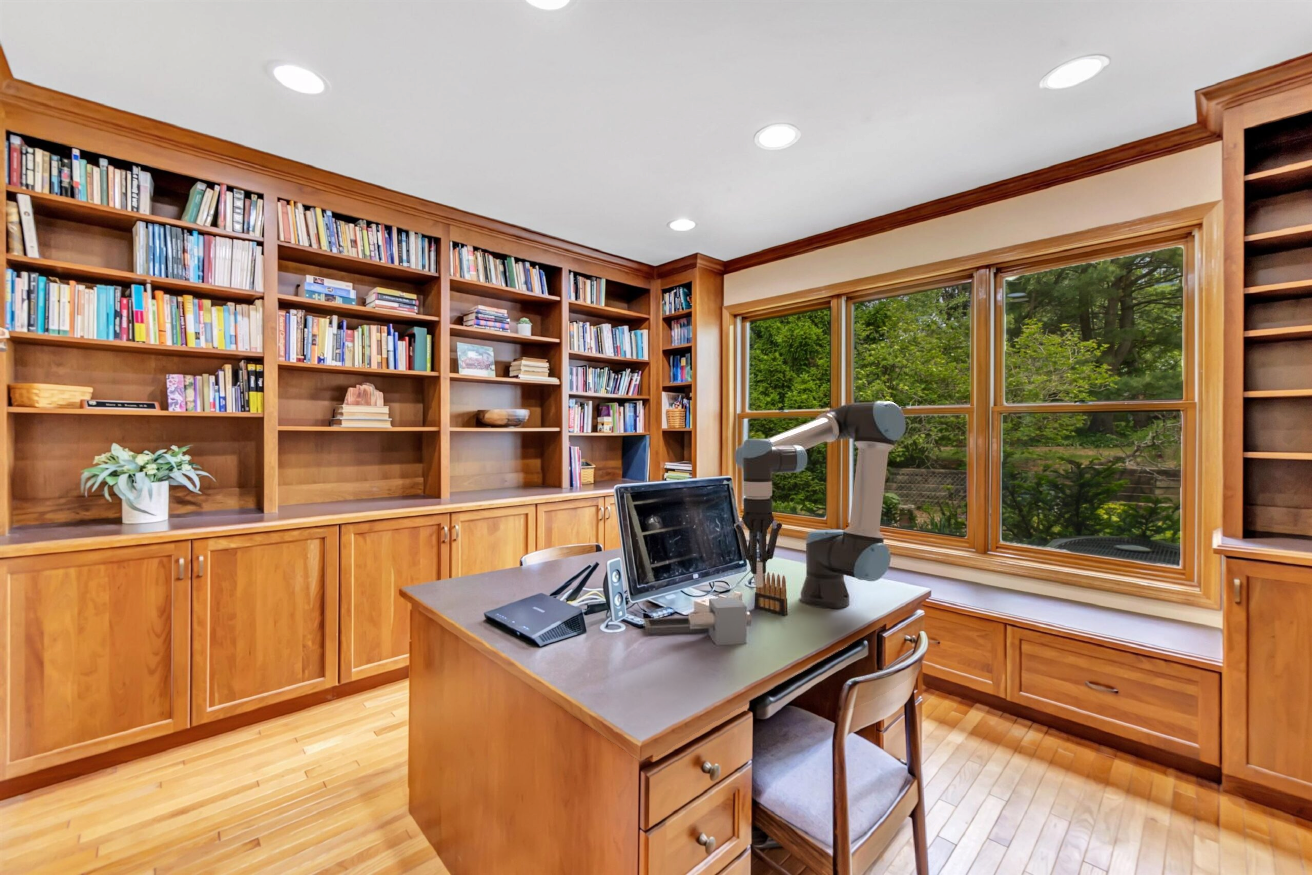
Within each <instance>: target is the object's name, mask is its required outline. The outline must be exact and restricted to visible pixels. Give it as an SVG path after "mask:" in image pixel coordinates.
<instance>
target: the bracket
mask: <svg viewBox="0 0 1312 875" xmlns="http://www.w3.org/2000/svg"><path fill="white" fill-rule="evenodd" d="M711 598H715V597H713V596H708V597H703V598H699V599H695V600H694V601H693V612H695V613H709V599H711ZM717 598H728V596H726V595H723V594H719V595H718V597H717ZM731 598H739V599H740V600H741V601H742V602H743V593H742V592H739V591H736V590H735V591H733V593H732V597H731Z"/></svg>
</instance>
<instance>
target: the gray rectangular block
mask: <svg viewBox="0 0 1312 875" xmlns="http://www.w3.org/2000/svg"><path fill="white" fill-rule="evenodd" d="M747 610H748V608H747V606H746V604H744V602H743V600H742V601H741V600H740V599H739V598H732V597H727V598H718V597H714V598H711V599H709V613H715V628H709V632H708V635H709V636H710V638H711V640H712V641H713V643H714V644H715V646H725V645H742V644H743V645H746V644H747V636H748V635H747V630H748V629H747V628H748V626H747Z"/></svg>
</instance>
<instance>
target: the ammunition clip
mask: <svg viewBox="0 0 1312 875" xmlns="http://www.w3.org/2000/svg"><path fill="white" fill-rule="evenodd" d="M765 574H766V573H765ZM765 574H763V587H756V586H755V592H754V602H753V603H754V605H753V606H754V607H753V609H754V610H757V611H761V612H765V613H770V614H773V615H777V616H781V617H787V616H788V615H789V614H788V613H789V612H788V597H787V581H786V576H785V574H783V576H782V577H781V576H780V574H779V573H778V574H777V576H775V573H774V572H773V573H772V575H770V572H769V571H767V574H766V575H765ZM781 578H782V579H781Z"/></svg>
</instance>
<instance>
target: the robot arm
mask: <svg viewBox="0 0 1312 875" xmlns="http://www.w3.org/2000/svg"><path fill="white" fill-rule="evenodd" d="M906 424H907V423H906V417H905V415H904V412H903V411H902V409H901V407H900V406H899V405H898V404H896V403H894V402H893V401H882V400H877V401H867V402H866V401H865V402H851V403H847V404H843V405H840V406H838V407H834V408H833V409H830V410H828V411H825V412H822V413H820V414H818V415H817V416H816V418H815V419H813V420H811V421H808V422H806V423H803V424H801V425H798V426H796V427H793V428H791V429H789V430H786V431H784V432H781V433H777V434H775V435H772V436H771V437H768V438H747V439H745V440H743V443H742V444H741V445H739V446H738V447H737V448H736V450H735V453H734V462H735V463H736V465H737V466H738V467H739V468H740V469H742V476H743V478H742V479H743V480H742V481H743V482H742V483H743V490H742V491H743V496H744V498H743V499H742V500H743V505H742V506H743V511H742V512H743V514H742V516H741V520H740V521H738V522H736V523H733V527H734V529H735V531H736V532H737V536H738V540H739V544H740V547H741V548H740V549H741V553H742V556H743V558H744V559H745V560H747V561H749V562H750V573H751V574H752V575H753V585H754V586H755V588H756V587H763V574H766V572H767V562H768V560H772V559H773V558H774V555H775V550H776V545H777V542H778V538H779V537H778V536H779V532H780V530H781V529H782V528H783V524H782V523H781V522H779V521H777V520H775V517H774V515H773V499H772V496H773V475H774V474H787V473H789V474H790V473H792V474H794V473H797V472H802V471H803V470H804V469H805V468H806V467H807V464H808V454H807V451H806V450H807V449H810V448H813V447H815V446H818V445H820V444H822V443H824V442H827V443H833V442H834V441H835V442H836V441H838V440H854V441H853V444H854V445H855V446H856V447H857V449H858V450H857V458H856V466H855V467H856V468H855V474H854V476H855V477H854V484H853V491H852V500H851V501H852V502H851V506H850V508H851V509H850V515H849V525H848V526H847V527H846V528H845V529H843V530H842V529H817V530H811V531H809V532H808V533H807V535H806V543H805V558H806V559H805V561H806V563H805V566H806V568H805V569H806V573H805V574H806V576H805V579H804V581H803V584H802V587H801V590H800V600H801V602H803V603H804V604H806V605H808V606H812V607H818V608H822V609H823V608H824V609H842V608H845V607H848V606H849V605H850V594H849V592H848V588H847V585H846V582H845V576H847V577H850V578H855V579H857V580H858V581H865V582H866V581H867V582H877V581H878V580H880V579H881V578H883V576H885V575H886V573H887V572H888V570H889V567H890V565H891V560H892V557H891V556H892V555H891V552H890V548H889V547H888V546H887V545H886V544H884V540H885V537H884V534H882V533H881V531H880V527H881V519H882V509H883V502H884V501H883V500H884V493H885V485H886V475H887V468H888V467H887V466H888V457H889V453H890V451H891V450H893V449H894V448H895V445H896V441H898V440H900V439H901V438H902V437H903V435H904V434H905V432H906ZM745 527H746V529H747V530H748V534H749V547H748V543H747V537H746V535H745V534H746V532H745V531H744V529H745ZM770 527H771V530H770V532H769V533H770V534H769V538H768V542H767V535H768V530H769V528H770ZM767 543H768V544H767ZM758 546H759V547H758ZM758 558H759V559H758Z"/></svg>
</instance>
